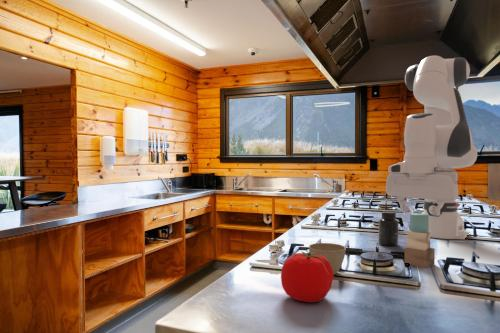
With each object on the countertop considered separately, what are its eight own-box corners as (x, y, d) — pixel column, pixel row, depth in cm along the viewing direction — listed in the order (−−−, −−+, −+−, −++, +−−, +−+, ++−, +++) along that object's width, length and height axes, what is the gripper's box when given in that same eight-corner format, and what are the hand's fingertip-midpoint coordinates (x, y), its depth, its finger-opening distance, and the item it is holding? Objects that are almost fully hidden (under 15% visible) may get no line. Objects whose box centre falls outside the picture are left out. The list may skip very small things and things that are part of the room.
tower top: (412, 245, 109) (412, 228, 109) (430, 247, 105) (430, 231, 105) (407, 247, 105) (407, 231, 105) (425, 250, 102) (425, 233, 102)
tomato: (297, 313, 71) (298, 262, 71) (271, 293, 82) (272, 249, 81) (345, 303, 76) (345, 256, 76) (315, 286, 86) (315, 244, 86)
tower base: (414, 260, 109) (414, 244, 109) (434, 265, 105) (434, 248, 104) (404, 263, 106) (404, 247, 106) (424, 268, 101) (424, 251, 101)
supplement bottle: (400, 247, 126) (400, 213, 126) (380, 246, 127) (380, 213, 127) (396, 242, 133) (396, 211, 132) (377, 241, 134) (377, 210, 134)
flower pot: (346, 269, 100) (347, 244, 100) (344, 280, 91) (344, 252, 91) (311, 265, 103) (311, 241, 103) (305, 276, 94) (306, 249, 94)
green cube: (415, 229, 109) (415, 212, 108) (431, 231, 104) (431, 214, 104) (406, 230, 106) (406, 214, 106) (422, 233, 102) (423, 216, 101)
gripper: (462, 167, 99) (462, 216, 99) (393, 166, 115) (393, 208, 115) (453, 168, 95) (452, 219, 95) (383, 166, 111) (383, 210, 111)
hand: (419, 213), depth 105 cm, fingers open, 8 cm apart
